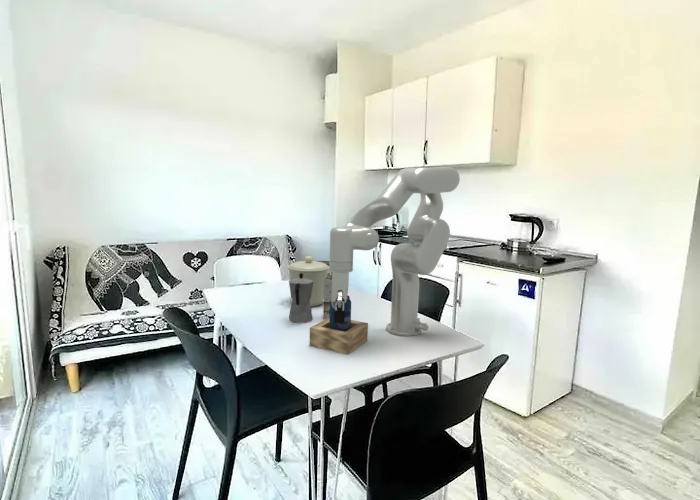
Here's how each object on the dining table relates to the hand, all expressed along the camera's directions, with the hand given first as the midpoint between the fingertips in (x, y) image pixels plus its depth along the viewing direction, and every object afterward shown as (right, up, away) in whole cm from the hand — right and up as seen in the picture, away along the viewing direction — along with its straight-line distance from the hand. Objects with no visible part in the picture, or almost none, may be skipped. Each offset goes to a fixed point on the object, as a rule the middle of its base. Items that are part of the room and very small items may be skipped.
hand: (339, 317), depth 135 cm
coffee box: (-3, -5, +28) cm, 29 cm away
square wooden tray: (0, -8, +1) cm, 8 cm away
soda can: (0, -5, +1) cm, 5 cm away
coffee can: (-10, +2, +71) cm, 72 cm away
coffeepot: (-16, -5, +23) cm, 29 cm away
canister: (-15, -2, +46) cm, 49 cm away
